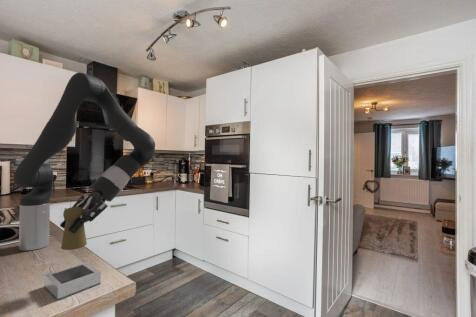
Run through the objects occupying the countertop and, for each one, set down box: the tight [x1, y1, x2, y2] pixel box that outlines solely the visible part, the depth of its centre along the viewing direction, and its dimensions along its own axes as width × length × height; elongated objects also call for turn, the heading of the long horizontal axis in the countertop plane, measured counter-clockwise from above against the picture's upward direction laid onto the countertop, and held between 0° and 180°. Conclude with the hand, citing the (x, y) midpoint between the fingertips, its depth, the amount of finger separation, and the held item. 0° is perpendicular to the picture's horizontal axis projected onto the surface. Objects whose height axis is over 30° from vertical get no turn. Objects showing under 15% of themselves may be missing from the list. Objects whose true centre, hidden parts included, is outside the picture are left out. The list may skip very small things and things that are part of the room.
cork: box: [60, 206, 88, 251], centre depth 68 cm, size 6×6×11 cm
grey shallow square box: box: [43, 262, 102, 302], centre depth 68 cm, size 10×10×3 cm
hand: (66, 229), depth 67 cm, fingers closed on cork, 5 cm apart
